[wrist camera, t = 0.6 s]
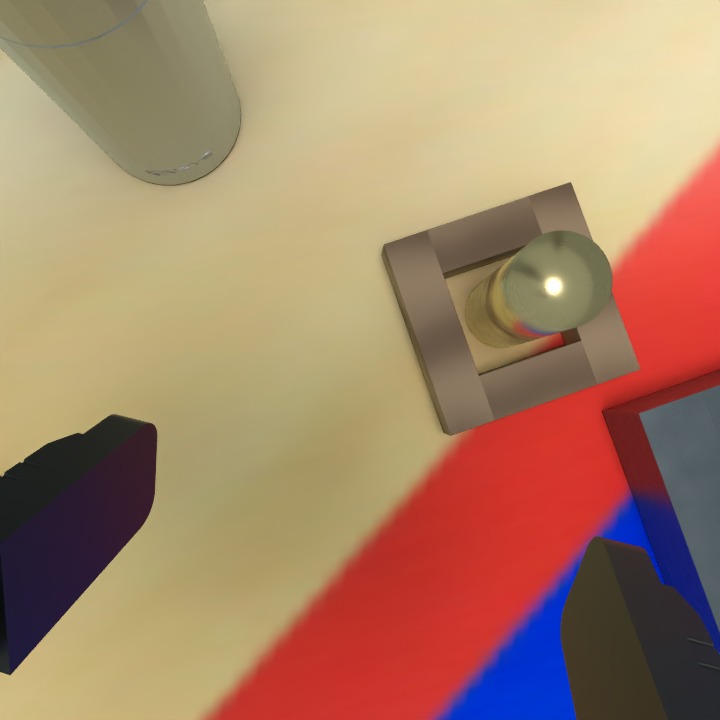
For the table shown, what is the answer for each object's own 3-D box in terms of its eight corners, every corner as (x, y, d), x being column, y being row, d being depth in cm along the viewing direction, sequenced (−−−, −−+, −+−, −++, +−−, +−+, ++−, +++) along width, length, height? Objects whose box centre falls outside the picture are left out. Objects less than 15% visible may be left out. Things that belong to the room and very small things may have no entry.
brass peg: (455, 291, 36) (499, 248, 25) (521, 269, 36) (592, 217, 25) (479, 357, 35) (533, 342, 25) (545, 334, 36) (626, 309, 25)
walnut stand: (381, 255, 36) (383, 244, 33) (555, 196, 36) (571, 182, 34) (443, 432, 35) (450, 435, 32) (620, 371, 35) (640, 369, 33)
